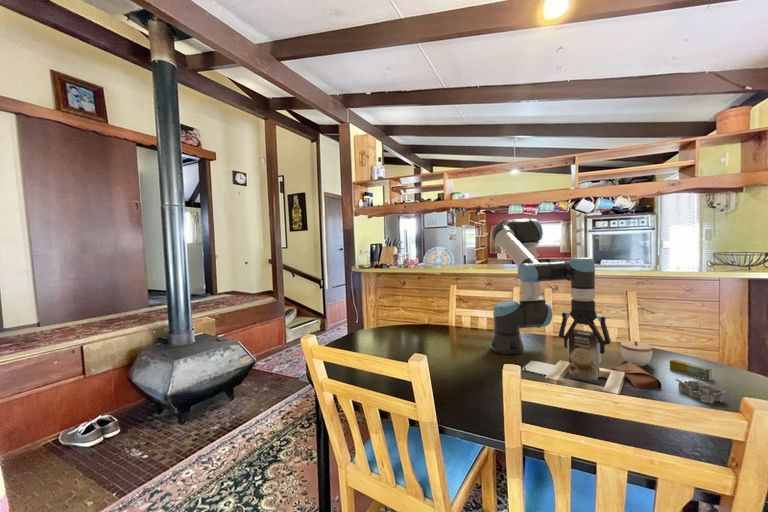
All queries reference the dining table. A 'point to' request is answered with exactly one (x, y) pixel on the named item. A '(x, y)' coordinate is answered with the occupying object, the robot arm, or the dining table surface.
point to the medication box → (691, 369)
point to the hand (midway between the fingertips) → (584, 358)
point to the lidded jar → (636, 352)
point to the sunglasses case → (638, 376)
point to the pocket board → (611, 385)
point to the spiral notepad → (539, 367)
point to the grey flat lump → (701, 390)
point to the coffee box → (583, 354)
